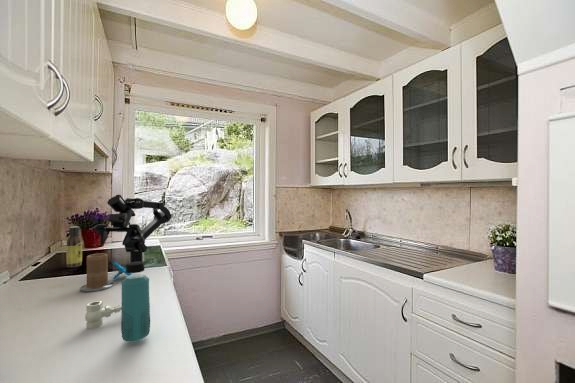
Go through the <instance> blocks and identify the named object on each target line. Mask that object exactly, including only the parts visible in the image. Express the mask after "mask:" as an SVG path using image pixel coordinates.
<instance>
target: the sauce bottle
mask: <svg viewBox="0 0 575 383" xmlns="http://www.w3.org/2000/svg"><path fill="white" fill-rule="evenodd" d="M68 230H69V237H68V238H67V239H66V248H65V249H66V250H65V252H66V256H65V258H66V260H65V261H66V263H65V264H66V268H68V269H70V268H77V267H78V268H79V267H80V266H82V265H83V264H82V262H83V240H82V238H81V237H80V226H70V227H69V228H68Z"/></svg>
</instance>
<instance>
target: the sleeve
mask: <svg viewBox="0 0 575 383" xmlns="http://www.w3.org/2000/svg"><path fill="white" fill-rule="evenodd" d="M108 257H109V256H108V253H104V252H101V253H93V254H89V255H87V256H86V284H87V288H90V289H93V288H100V287H103V286H106V285H107V284H108V280H109V278H108V275H109V273H108V272H109V270H108V268H109V261H108Z"/></svg>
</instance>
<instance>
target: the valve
mask: <svg viewBox="0 0 575 383" xmlns="http://www.w3.org/2000/svg"><path fill="white" fill-rule="evenodd" d="M121 308H122V305H115V306H113V307H112V306H110V305H107V306H105V307H104V306H103V301H100V300H95V301H92V302H91V301H90V302H89V303H87V304H86V308H85V310H86V313H85V316H84V317H85V321H86V330H96V329H99V328H101V327H102V326H103V320H104V319H103V318H109V317H111V315H113V313H114V314H115V313H119V312H120V313H121V312H122V309H121Z"/></svg>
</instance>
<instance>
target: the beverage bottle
mask: <svg viewBox="0 0 575 383" xmlns="http://www.w3.org/2000/svg"><path fill="white" fill-rule="evenodd" d="M144 262H145V261H144ZM144 262H131V263H128V262H127V264H126V266H125V268H126V273H131V274H132V275H129V276H127V275H126V277H125V278H124V279H123V280H122V281H121V284H120V285H121V306H122V308H121V309H122V310H121V314H120V317H121V321H120V322H121V324H120V334H121V338H122V340H123V341H124V342H137V341H140V340H143V339H145V338H146V337H147V336H149V335H150V331H151V330H150V329H151V311H150V310H151V309H150V308H151V305H150V304H151V303H150V299H151V298H150V277H148V276H147V275H146V274H145V273H142V272H144V271H145V263H144Z"/></svg>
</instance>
